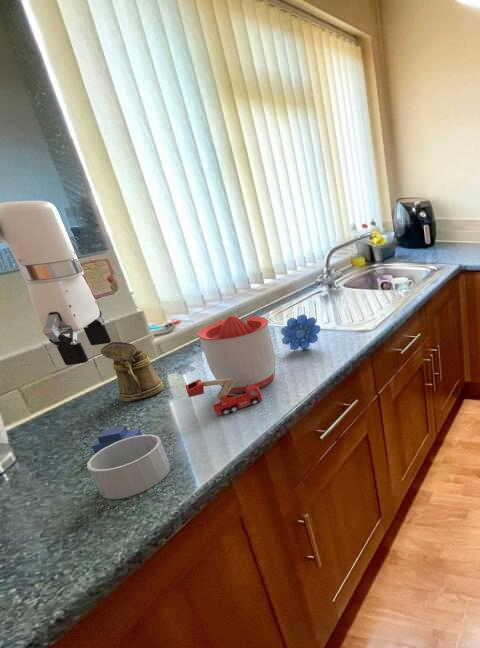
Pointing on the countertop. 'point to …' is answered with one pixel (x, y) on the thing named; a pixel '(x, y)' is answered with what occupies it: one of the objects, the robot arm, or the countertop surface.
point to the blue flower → (300, 332)
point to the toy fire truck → (226, 395)
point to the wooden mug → (132, 371)
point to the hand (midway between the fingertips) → (90, 353)
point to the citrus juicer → (239, 351)
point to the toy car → (113, 437)
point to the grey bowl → (129, 466)
